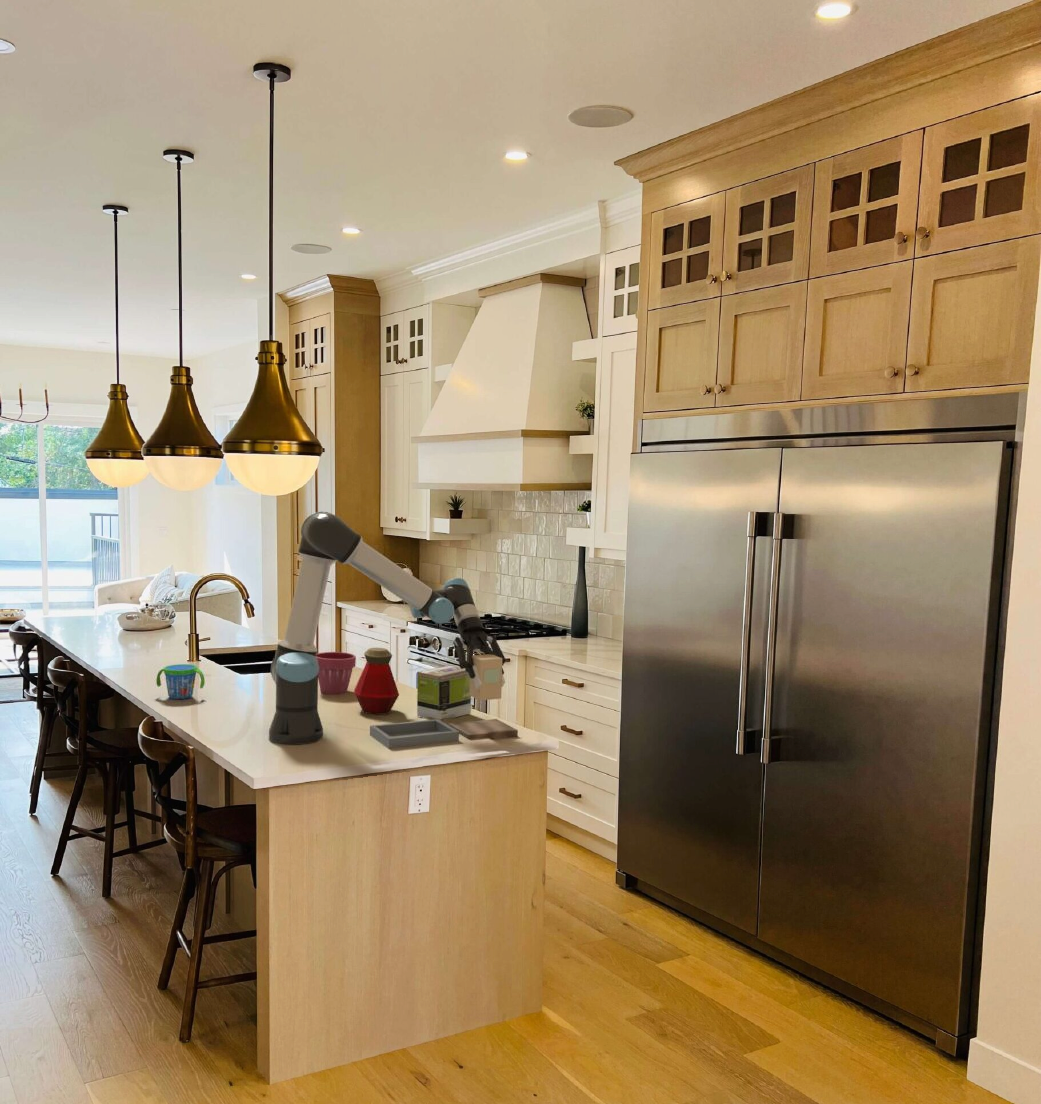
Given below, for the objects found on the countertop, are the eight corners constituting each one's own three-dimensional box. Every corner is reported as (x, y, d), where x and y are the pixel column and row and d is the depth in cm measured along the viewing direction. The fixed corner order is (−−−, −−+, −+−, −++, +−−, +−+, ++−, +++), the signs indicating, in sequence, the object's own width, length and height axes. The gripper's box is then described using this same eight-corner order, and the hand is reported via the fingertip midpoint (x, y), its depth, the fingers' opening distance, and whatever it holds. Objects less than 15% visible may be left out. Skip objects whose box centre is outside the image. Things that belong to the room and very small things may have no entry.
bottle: (343, 709, 310) (345, 647, 309) (377, 703, 320) (378, 643, 319) (374, 718, 300) (376, 655, 298) (408, 712, 310) (409, 650, 308)
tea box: (448, 708, 316) (450, 664, 315) (471, 714, 310) (472, 669, 309) (415, 716, 305) (416, 670, 303) (438, 722, 298) (440, 675, 297)
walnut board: (468, 741, 277) (468, 735, 277) (448, 730, 289) (448, 723, 289) (517, 736, 285) (517, 729, 285) (496, 725, 297) (496, 718, 297)
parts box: (480, 700, 282) (481, 660, 281) (469, 695, 288) (470, 655, 287) (501, 698, 285) (502, 658, 284) (490, 693, 291) (491, 654, 290)
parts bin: (388, 751, 265) (388, 738, 265) (369, 737, 278) (370, 725, 278) (458, 743, 275) (459, 731, 275) (437, 730, 288) (437, 719, 288)
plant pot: (360, 688, 341) (361, 653, 340) (346, 697, 327) (347, 660, 326) (322, 685, 343) (322, 650, 342) (306, 694, 329) (307, 657, 329)
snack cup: (149, 699, 315) (150, 668, 314) (167, 692, 325) (167, 662, 325) (193, 702, 312) (194, 671, 311) (210, 695, 322) (210, 665, 322)
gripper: (493, 628, 303) (516, 689, 290) (435, 631, 294) (456, 695, 281) (501, 613, 298) (525, 675, 285) (442, 616, 289) (464, 681, 276)
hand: (491, 685), depth 283 cm, fingers closed on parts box, 7 cm apart
